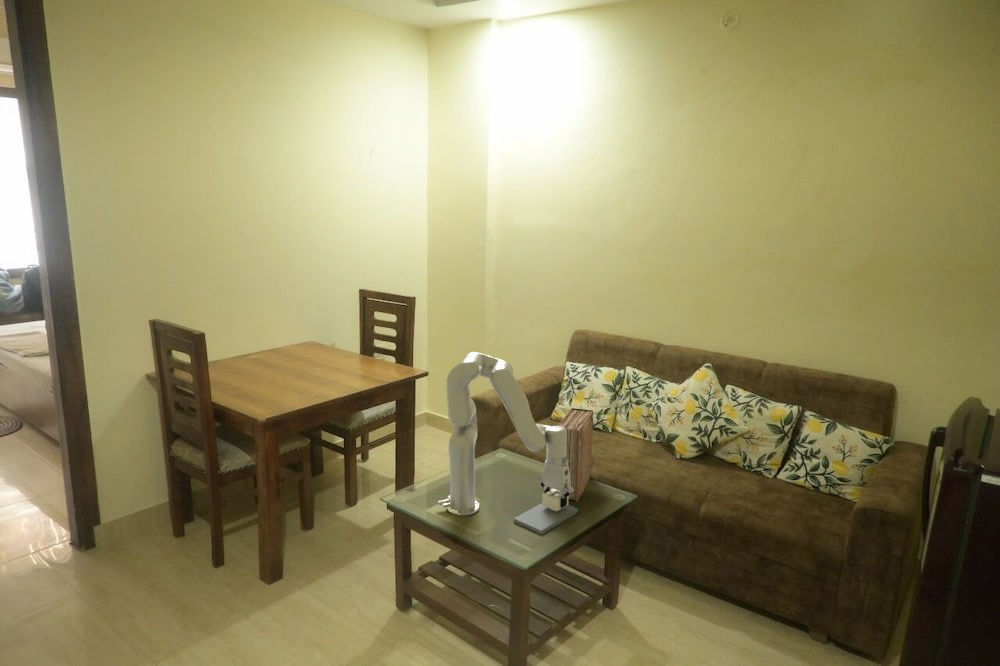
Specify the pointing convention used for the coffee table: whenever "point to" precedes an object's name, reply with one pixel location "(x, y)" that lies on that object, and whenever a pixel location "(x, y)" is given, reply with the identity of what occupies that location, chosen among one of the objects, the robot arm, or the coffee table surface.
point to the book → (578, 448)
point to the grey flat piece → (544, 517)
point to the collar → (552, 499)
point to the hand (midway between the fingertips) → (555, 502)
